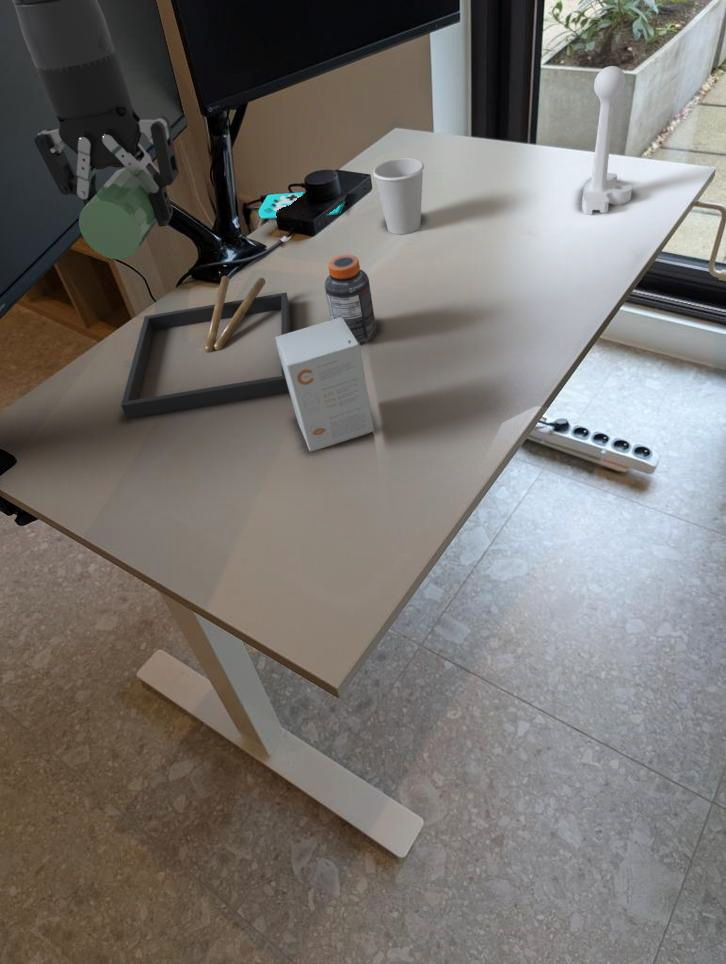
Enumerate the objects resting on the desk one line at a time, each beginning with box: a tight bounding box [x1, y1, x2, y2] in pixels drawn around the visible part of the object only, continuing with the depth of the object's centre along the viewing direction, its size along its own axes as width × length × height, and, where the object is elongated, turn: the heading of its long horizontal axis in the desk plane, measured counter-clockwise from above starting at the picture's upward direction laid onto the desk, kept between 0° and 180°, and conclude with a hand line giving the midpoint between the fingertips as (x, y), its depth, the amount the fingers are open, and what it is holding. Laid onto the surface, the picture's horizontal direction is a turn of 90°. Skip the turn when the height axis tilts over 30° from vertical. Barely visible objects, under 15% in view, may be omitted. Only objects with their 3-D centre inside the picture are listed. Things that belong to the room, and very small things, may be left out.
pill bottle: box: [324, 254, 377, 346], centre depth 92 cm, size 6×6×11 cm
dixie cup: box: [372, 157, 425, 235], centre depth 114 cm, size 8×8×10 cm
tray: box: [120, 292, 291, 420], centre depth 95 cm, size 22×22×3 cm
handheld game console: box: [258, 191, 346, 219], centre depth 128 cm, size 10×16×1 cm, turn 81°
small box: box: [274, 317, 375, 452], centre depth 77 cm, size 8×6×13 cm
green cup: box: [78, 167, 157, 260], centre depth 73 cm, size 6×6×9 cm
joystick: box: [581, 65, 633, 216], centre depth 107 cm, size 11×8×20 cm
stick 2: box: [213, 277, 266, 351], centre depth 99 cm, size 1×1×14 cm
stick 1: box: [204, 275, 230, 353], centre depth 99 cm, size 1×1×14 cm
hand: (135, 225), depth 76 cm, fingers closed on green cup, 6 cm apart
